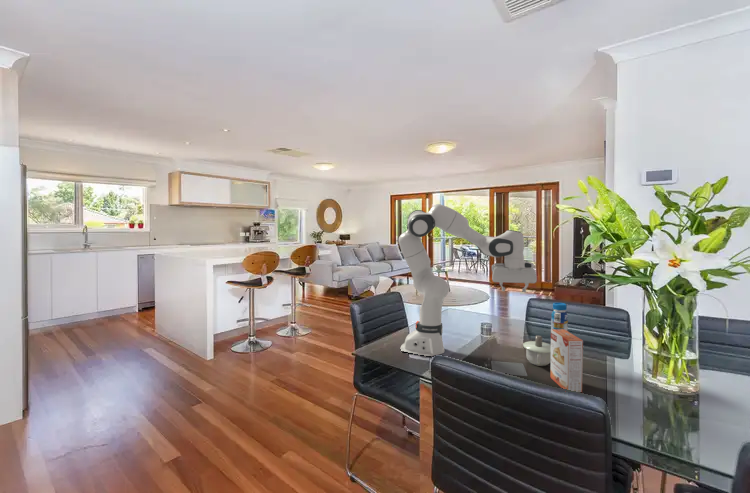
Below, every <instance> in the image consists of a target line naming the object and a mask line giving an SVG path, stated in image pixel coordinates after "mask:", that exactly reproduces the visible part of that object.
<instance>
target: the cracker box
mask: <svg viewBox="0 0 750 493" xmlns="http://www.w3.org/2000/svg"><path fill="white" fill-rule="evenodd" d="M550 344H551V362H550V368H549V369H550V378H551V380H553V382H555V383H556V384H557V385H558V386H559V387H560V388H561V389H562V388H563V389H567V390H571V391H576V392H582V393H583V372H584V371H583V364H584V362H583V361H584V356H583V354H584V340H583V339H581V338H580V337H578V336H576V335H574V334H573V333H571V332H570V331H566V330H565V329H552V330H551V329H550ZM563 389H562V390H563Z"/></svg>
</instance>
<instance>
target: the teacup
mask: <svg viewBox="0 0 750 493" xmlns="http://www.w3.org/2000/svg"><path fill="white" fill-rule="evenodd" d="M525 352H526V353H525V355H526V356H525V357H526V359H527V361H529V363H530V364H531V365H534V366H540V367H545V366H547V365H549V364H551V352H550V353H539V352H533V351H530V350H527V349H526V351H525Z"/></svg>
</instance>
